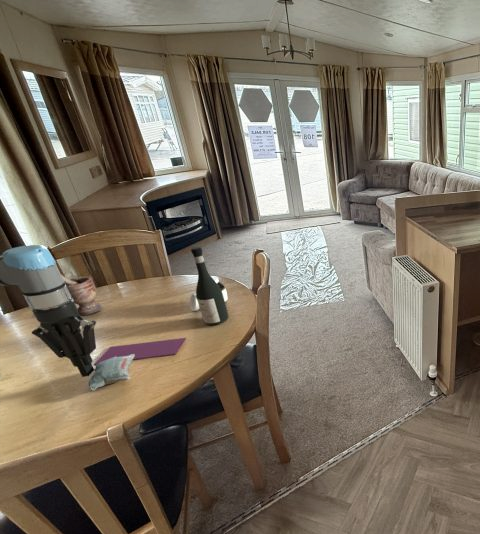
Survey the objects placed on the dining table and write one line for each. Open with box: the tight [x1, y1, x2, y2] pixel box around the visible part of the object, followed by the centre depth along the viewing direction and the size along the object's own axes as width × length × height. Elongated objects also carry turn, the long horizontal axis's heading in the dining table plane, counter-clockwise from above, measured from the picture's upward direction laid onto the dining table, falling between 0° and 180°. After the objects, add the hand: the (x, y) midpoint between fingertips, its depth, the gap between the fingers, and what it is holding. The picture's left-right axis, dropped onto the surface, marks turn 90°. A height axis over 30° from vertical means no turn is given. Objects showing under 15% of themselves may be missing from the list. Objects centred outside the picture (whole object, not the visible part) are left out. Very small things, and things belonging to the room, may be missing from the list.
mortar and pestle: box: [60, 273, 103, 316], centre depth 128 cm, size 12×9×20 cm
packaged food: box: [88, 354, 135, 391], centre depth 100 cm, size 9×12×5 cm
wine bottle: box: [190, 246, 229, 326], centre depth 123 cm, size 8×8×30 cm
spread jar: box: [189, 275, 229, 312], centre depth 136 cm, size 12×11×12 cm
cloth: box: [93, 337, 187, 366], centre depth 112 cm, size 22×9×1 cm, turn 106°
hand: (88, 373), depth 98 cm, fingers closed
